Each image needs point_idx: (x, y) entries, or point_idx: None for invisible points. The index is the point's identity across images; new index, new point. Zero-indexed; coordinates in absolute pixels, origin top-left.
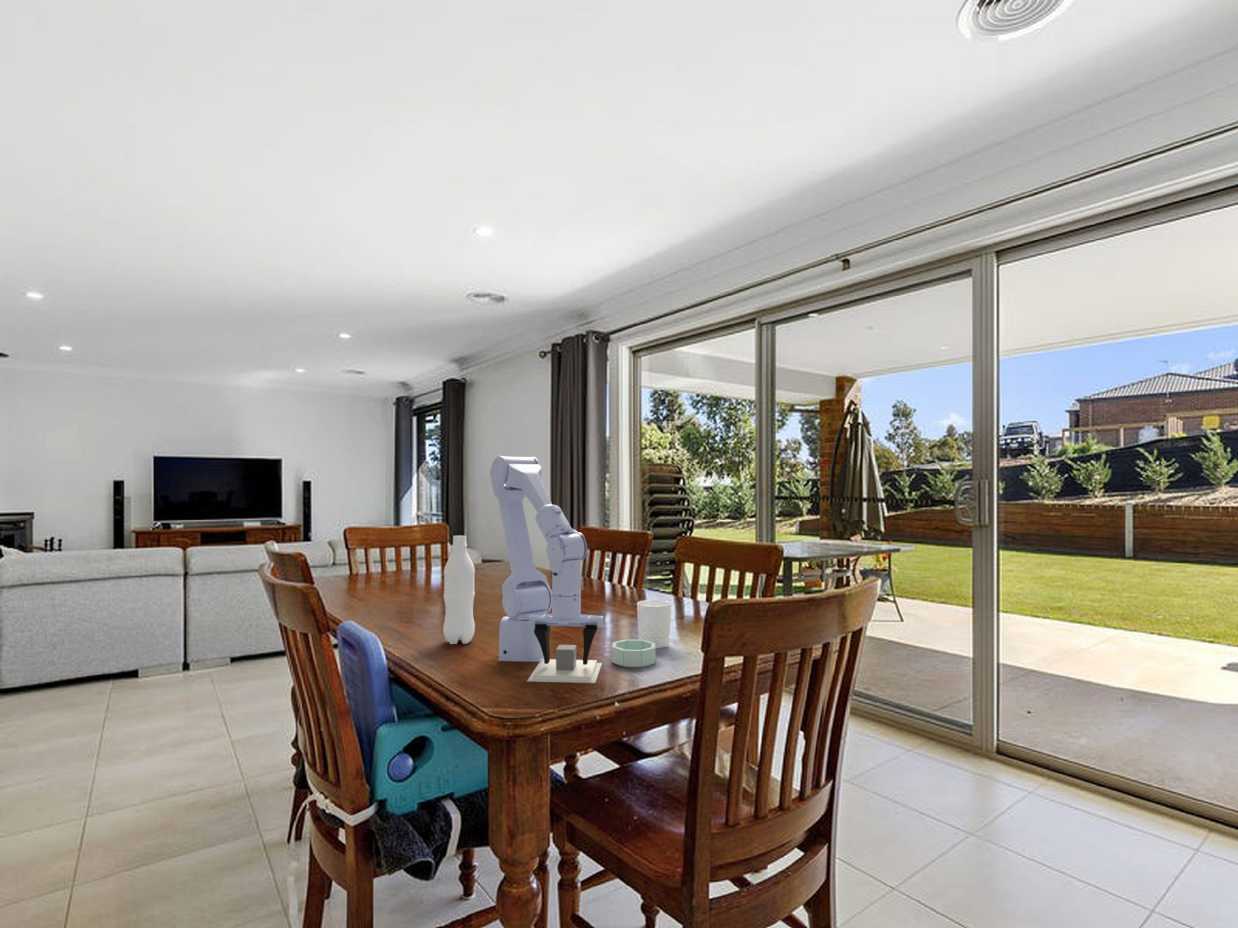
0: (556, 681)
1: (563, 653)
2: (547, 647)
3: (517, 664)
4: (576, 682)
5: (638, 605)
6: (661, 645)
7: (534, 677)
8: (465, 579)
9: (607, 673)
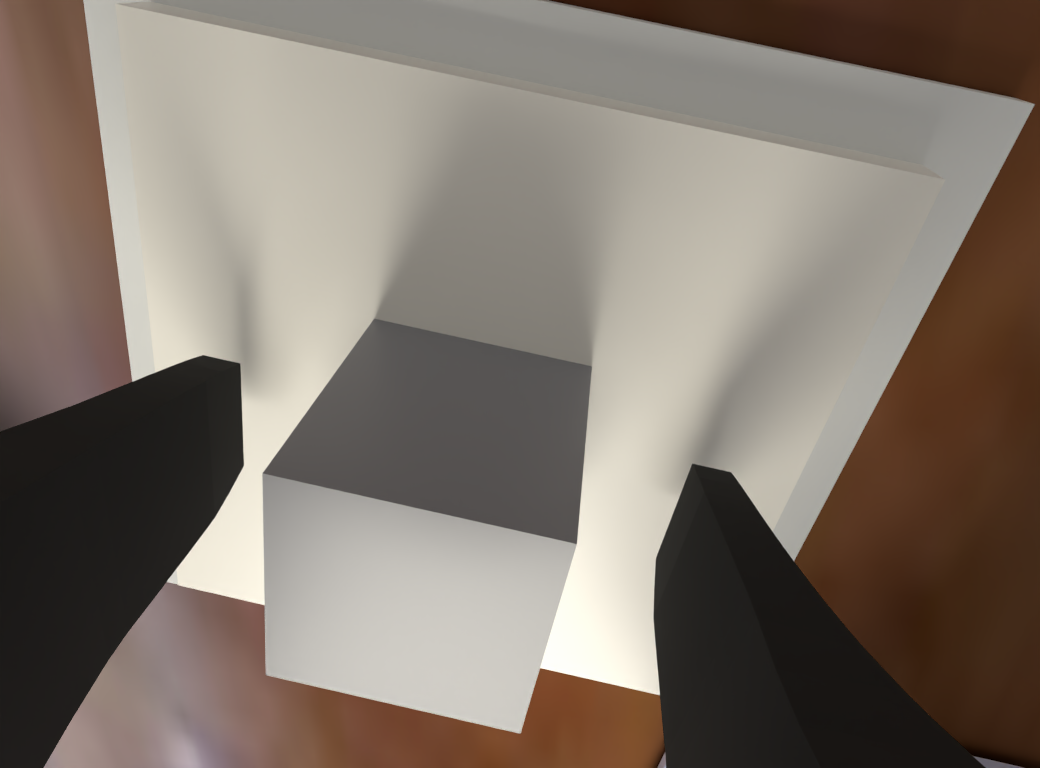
0: (608, 29)
1: (459, 470)
2: (716, 656)
3: (927, 712)
4: None
5: None
6: None
7: (913, 170)
8: None
9: (69, 349)
